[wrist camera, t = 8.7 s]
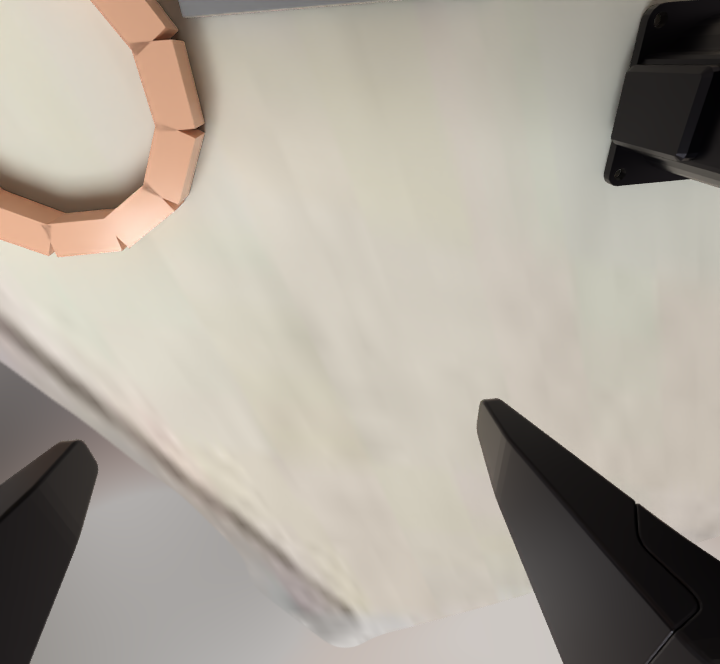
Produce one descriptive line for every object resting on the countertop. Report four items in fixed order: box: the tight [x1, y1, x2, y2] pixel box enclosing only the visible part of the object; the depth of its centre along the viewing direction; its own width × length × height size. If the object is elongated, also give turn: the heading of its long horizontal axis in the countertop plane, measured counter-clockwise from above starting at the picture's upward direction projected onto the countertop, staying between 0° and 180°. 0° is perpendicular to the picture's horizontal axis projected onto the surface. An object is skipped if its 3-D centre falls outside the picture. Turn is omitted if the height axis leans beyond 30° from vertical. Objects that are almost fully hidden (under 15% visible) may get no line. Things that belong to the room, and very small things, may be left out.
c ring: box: [0, 0, 205, 257], centre depth 15 cm, size 11×11×2 cm
